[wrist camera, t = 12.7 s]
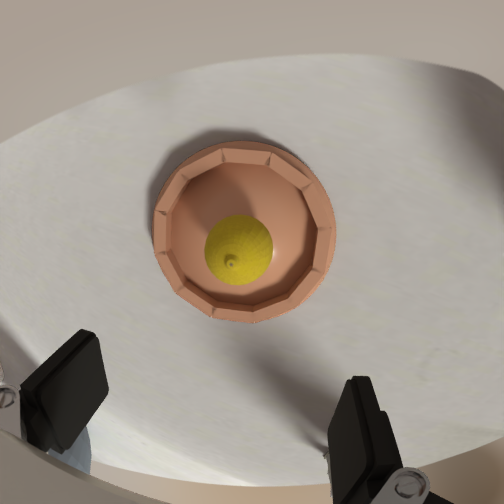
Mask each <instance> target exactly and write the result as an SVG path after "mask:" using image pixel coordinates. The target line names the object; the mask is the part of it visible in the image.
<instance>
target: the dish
mask: <svg viewBox="0 0 504 504" xmlns="http://www.w3.org/2000/svg"><path fill="white" fill-rule="evenodd" d="M240 214H242V215H248V216H251V217H253V218H256V219H258V220H259V221H260V222H261V223H263V224H264V225H265V227H266V228H267V229H268V231H269V233H270V235H271V238H272V241H273V256H272V260H271V262H270V265H269V267H268V268H267V270H266V271H265V272H264V273H263V275H262V276H260V277H259V278H258V279H256V280H255V281H253V282H251V283H248V284H245V285H230V284H227V283H224V282H222V281H220V280H219V279H217V278H216V277H215V276H214V275H213V274H212V273H211V271H210V270H209V268H208V266H207V263H206V260H205V254H204V247H205V242H206V238H207V236H208V234H209V232H210V230H211V229H212V228H213V227H214V226H215V225H216V223H218V222H219V221H221V220H222V219H224V218H226V217H229V216H232V215H240ZM152 240H153V246H154V254H155V257H156V259H157V261H158V263H159V265H160V267H161V270H162V272H163V273H164V275H165V277H166V278H167V280H168V282H169V283H170V285H171V287H172V288H173V290H174V292H176V294H177V295H179V296H180V297H181V298H183V299H184V300H186V301H187V302H189V303H190V304H192V305H193V306H195V307H196V308H197V309H199V310H200V311H202V312H203V313H205V314H206V315H208V316H209V317H211V316H212V318H217V319H224V320H230V321H238V322H247V323H254V322H255V323H257V322H260V321H262V320H268V319H271V318H274V317H278V316H280V315H282V314H285V313H287V312H289V311H291V310H292V309H294V308H296V307H297V306H299V305H300V304H301V303H303V302H304V301H305V300H306V299H308V298H309V297H310V296H311V295H312V293H313V292H314V291H315V290H316V289H317V288H318V286H319V285H320V284H321V282H322V281H323V279H324V277H325V275H326V274H327V272H328V270H329V267H330V264H331V262H332V259H333V255H334V251H335V244H336V222H335V217H334V212H333V208H332V205H331V202H330V199H329V197H328V195H327V193H326V191H325V189H324V187H323V186H322V184H321V183H320V181H319V180H318V178H317V177H316V176H315V175H314V174H313V173H312V171H311V170H310V169H309V168H308V167H307V166H306V165H304V164H303V163H302V162H301V161H300V160H298V159H297V158H295V157H294V156H292V155H291V154H289V153H287V152H286V151H283V150H281V149H279V148H277V147H274V146H271V145H267V144H264V143H259V142H252V141H232V142H224V143H220V144H216V145H213V146H210V147H208V148H205V149H203V150H201V151H199V152H197V153H195V154H194V155H192V156H190V157H189V158H188V159H186V160H185V161H184V162H183V163H182V164H180V165H179V166H178V167H177V168H176V169H175V171H174V172H173V173H172V174H171V175H170V177H169V178H168V179H167V181H166V182H165V184H164V186H163V188H162V189H161V191H160V193H159V196H158V199H157V201H156V204H155V208H154V213H153V219H152Z"/></svg>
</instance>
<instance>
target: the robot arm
mask: <svg viewBox="0 0 504 504" xmlns="http://www.w3.org/2000/svg"><path fill="white" fill-rule="evenodd" d="M20 387H21V390H20V391H19V392H18V390H17V389H16V388H15V387H13V386H10V385H1V386H0V504H170V503H166V502H163V501H159V500H156V499H153V498H149V497H146V496H143V495H140V494H137V493H134V492H131V491H129V490H126V489H123V488H120V487H118V486H115V485H113V484H110V483H108V482H105V481H103V480H100V479H98V478H95V477H93V476H91V475H89V474H87V473H84V472H82V471H80V470H78V469H76V468H74V467H72V466H70V465H68V464H66V463H64V462H62V461H60V460H58V459H56V458H54V457H52V456H51V455H49V454H48V450H49V449H50V448H51V449H52V450H54V451H56V452H57V453H59V454H61V455H62V454H63V453H64V451H65V450H68V449H70V448H71V446H72V445H73V443H74V442H75V440H76V439H77V438H78V436H79V435H80V433H81V432H82V430H83V429H84V427H85V426H86V425H87V423H88V422H89V420H90V419H91V417H92V416H93V415H94V413H95V412H96V410H97V409H98V408H99V406H100V405H101V403H102V402H103V401H104V399H105V398H106V396H107V395H108V391H109V387H108V382H107V378H106V374H105V369H104V364H103V359H102V354H101V349H100V343H99V339H98V338H97V337H96V335H95V333H93V332H90V331H87V330H84V329H80V330H79V331H78V332H77V333H75V334H74V335H73V336H72V337H71V338H70V339H69V340H68V341H67V342H65V343H64V344H63V345H62V346H61V347H60V348H59V349H58V350H57V351H56V352H55V353H53V354H52V355H51V356H50V357H49V358H48V359H47V360H46V361H45V362H44V363H43V364H42V365H41V366H40V367H39V368H37V369H36V370H35V371H34V372H33V373H32V374H31V375H30V376H29V377H28V378H27V379H26V380H25V381H24V382H23V383H22V384H21V385H20ZM328 446H329V457H330V468H331V481H332V494H333V504H454V503H451V502H449V501H448V500H445V499H444V498H441V497H440V496H438V495H436V494H434V493H432V492H430V491H429V490H430V481H429V479H428V477H427V476H426V475H425V474H424V472H422V471H420V470H419V469H416V468H411V467H405V468H403V464H402V460H401V457H400V454H399V450H398V447H397V443H396V440H395V437H394V434H393V430H392V427H391V424H390V421H389V418H388V415H387V413H386V412H385V411H380V408H379V404H378V401H377V398H376V395H375V392H374V389H373V386H372V383H371V380H370V377H369V376H353V377H352V379H351V380H350V379H348V380H347V381H346V384H345V387H344V389H343V392H342V395H341V397H340V400H339V403H338V405H337V408H336V410H335V413H334V415H333V418H332V420H331V423H330V425H329V428H328Z"/></svg>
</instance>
